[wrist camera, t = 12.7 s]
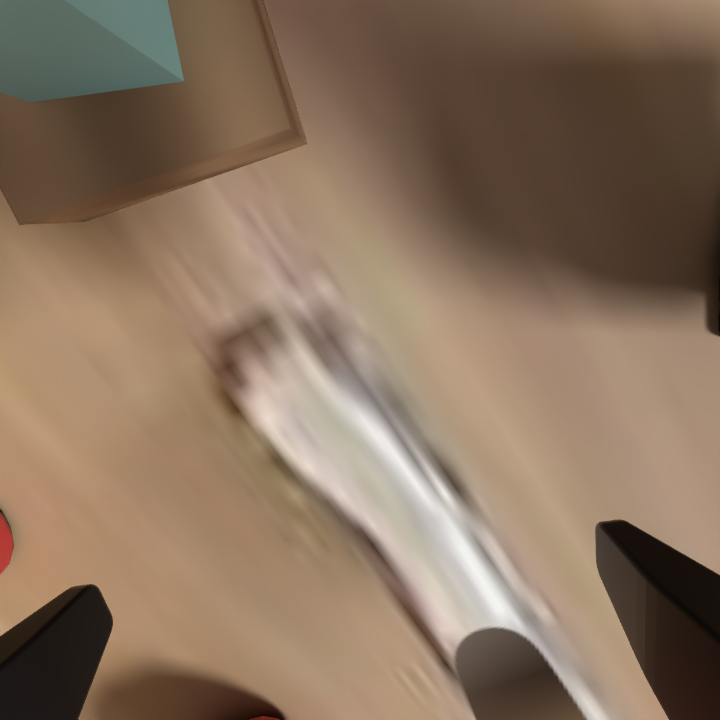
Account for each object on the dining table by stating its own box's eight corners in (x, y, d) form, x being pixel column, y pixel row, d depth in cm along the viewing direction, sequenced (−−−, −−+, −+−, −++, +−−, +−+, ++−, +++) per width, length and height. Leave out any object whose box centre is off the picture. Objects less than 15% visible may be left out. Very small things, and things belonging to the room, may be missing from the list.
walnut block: (210, -172, 15) (153, -302, 11) (309, 145, 18) (290, 128, 14) (-41, -55, 16) (-170, -136, 12) (90, 221, 19) (19, 224, 15)
